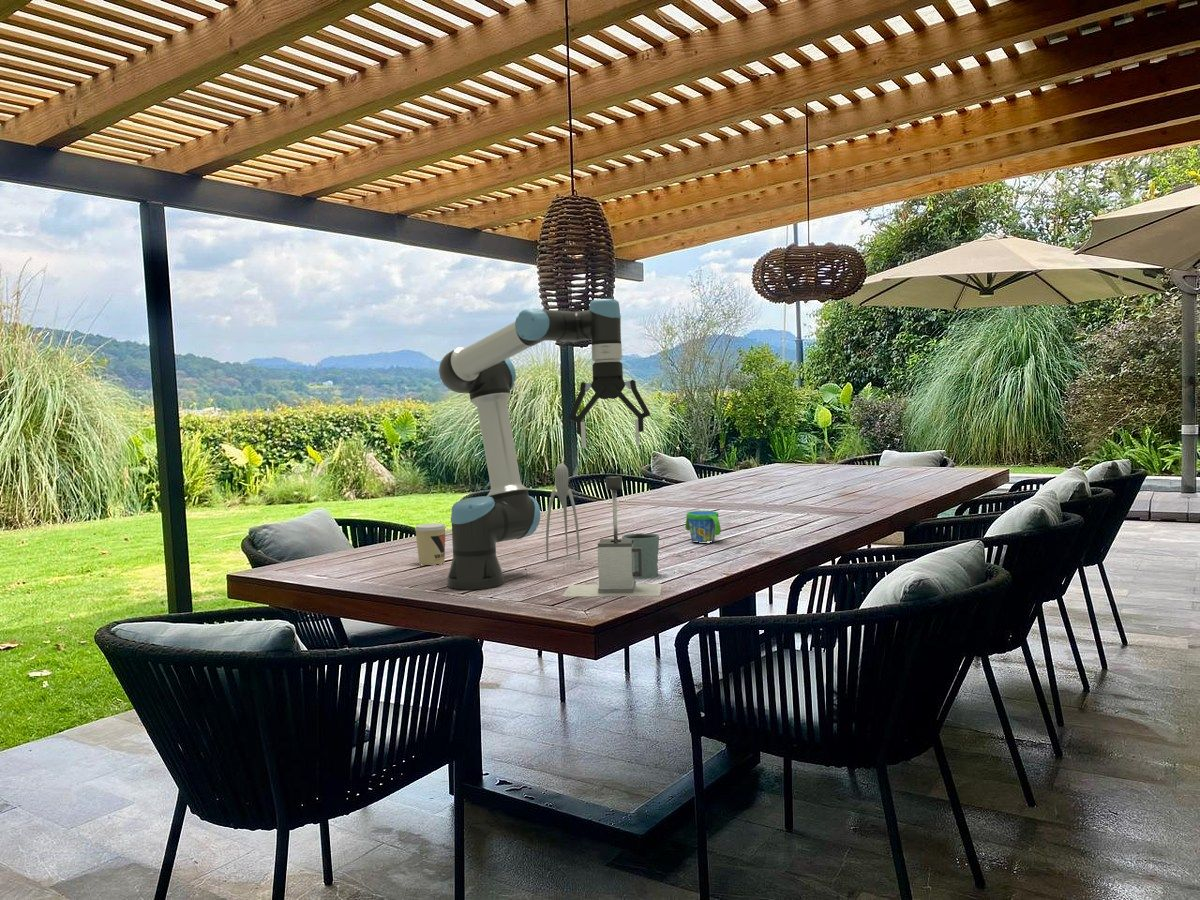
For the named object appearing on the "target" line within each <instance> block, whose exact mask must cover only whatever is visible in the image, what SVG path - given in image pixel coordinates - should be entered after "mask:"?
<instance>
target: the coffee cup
mask: <svg viewBox="0 0 1200 900" xmlns="http://www.w3.org/2000/svg"><path fill="white" fill-rule="evenodd" d="M446 528H447V526H446V524H444V523H439V522H438V523H437V522H436V523H433V522H432V523H431V522H430V523H422V524H418V525H416V526H415V528H414V530H415V538H416V546H417V547H416V548H417V557H418V563H419V565H420V564H422V565H435V564H441V563H444V564H445V559H446ZM422 565H421V566H422ZM441 565H442V564H441ZM435 566H436V565H435Z"/></svg>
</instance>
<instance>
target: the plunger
mask: <svg viewBox="0 0 1200 900" xmlns="http://www.w3.org/2000/svg"><path fill="white" fill-rule="evenodd" d="M605 489H606V490H608V491H611V492H612V519H613V520H612V521H613V523H612V525H613V527H612V528H613V539H614V542H618V539H619V537H618V532H619V531H618V510H617V509H618V506H617V505H618V503H617V501H618V500H617V490H623V477H622V476H619V475H617V476H606V477H605Z"/></svg>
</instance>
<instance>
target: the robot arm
mask: <svg viewBox="0 0 1200 900" xmlns="http://www.w3.org/2000/svg"><path fill="white" fill-rule="evenodd" d="M620 308H621V307H620V302H619V300H617V299H615V298H599V299H598V298H597V299H593V300H591V301H590V303H589V308H588V310H581V311H572V310H571V311H570V310H553V309H551V310H550V309H541V308H526V309H522V310H521V311H520V312H519V313H518V316H516V318H515V321H514V322H512V323H510V324H508V325H506V326H504V327H502V328H500V329H498V330H497V331H495V332H493V333H491V334H489V335H487V336H485V337H483V338H481V339H480V340H478V341H476V342H474V343H472V344H470V345H468V346H466V347H465V346H460V347H459V346H458V347H457V348H455V349H453V350H451V351H449V352H448V353H446V355H444V357H443V358H442V359H441V361H440V364H439V367H438V374H439V378H440V381H441V382H442V383H443V385H444V386H445V387H446V388H447V389H449V390H450V391H452V392H454V393H458V394H469V399H470V400H469V401H470V404H471V403H472V404H473V405H474V406H476V407H475V408H477V415H478V420H479V426H480V433H481V436H482V444H483V449H484V455H485V461H486V465H487V472H488V477H489V479H488V480H489V483H490V491H488V494H487V495H483V496H475V497H469V498H468V497H467V498H465V499H460V500H458V501H456V502H455V503H454V504H453V505H452V506H451V512H450V513H451V516H450V522H451V535H452V536H451V537H452V538H451V540H452V541H451V542H452V560H451V564H450V567H449V571H448V575H447V587H448V588H450V589H453V588H454V590H465V591H466V590H482V589H483V590H485V589H489V588H495V587H499V586H501V585H503V584H504V573H503V570H502V568H501V565H500V562H499V560H498V557H497V546H496V543H500V542H506V541H513V540H520V539H523V538H526V537H529V536H531V535H533V534H534V533H535V532H536V530H537V528H538V527H539V525H540V521H541V508H540V504H539V503H538V501H536V499H535V498H534V497H533V496H530V495H529V489H528V488H527V487H526V486H524V485H523V484H522V481H521V477H520V471H519V464H518V456H517V452H516V447H515V442H514V441H515V440H514V435H513V430H512V423H511V418H510V414H509V407H508V400H509V399H510V397H511V396H512V393H511V390H513V388H514V386H515V382H516V380H517V374H516V369H515V366H514V364H513V362H512V361H511V359H510V358H511V357H513V356H516V355H517V354H519V353H522V352H523V351H525V350H527V349H529V348H531V347H533V346H535V345H538V344H539V343H542V342H545V341H552V342H553V341H554V342H555V341H556V342H557V341H558V342H562V343H568V344H569V343H573V344H574V343H576V342H583V341H589V340H590V341H591V344H590V345H591V360H592V361H593V363H592V364H591V365H592V382H585V381H582V382H580V386H579V388H580V389H579V391H578V392H579V393H578V395H577V397H576V399H575V402H574V404H573V406H572V409H571V411H570V414H569V415H568V419H569V420H571V421H575V424H576V434H577V435H579V436H581V437H580V438H581V439H580V440H581V449H585V448H586V447H587V438H586V437H587V436H586V435H587V434H586V421H583V419H584V418H585V417H586V415H588V413H589V411H590V410H591V409H592V408H593V406H594V405H595V404H596V403H597V401H599V399H601V400H607V399H609V400H610V399H611V400H613V399H614V400H615V399H617V398H619V399H620V400H621V401H622V402H623V404H624V405H626V407H627V408H628V409H629V410H630V411H631V413H633V414H634V415H635V416H636V418H637V419H634V427H635V428H634V429H635V446H636V447H637V446H638V447H640V445H641V441H640V433H643V432H644V419H645V418H647V417H649V416H650V415H651V412H650V410H649V409H648V406H647V404H646V403H645V401H644V399H643V397H642V395H641V394H640V392H639V390H638V388H637V383H636V380H635V379H631V380H628V381H627V380H626V381H625V380H624V374H623V373H624V372H623V370H624V369H623V363H622V362H621V361H622V360H623V353H622V352H623V348H622V347H623V346H622V345H623V344H622V335H621V334H622V332H621V331H622V329H621V328H622V327H621V326H622V323H621V322H622V320H621V318H622V316H621V309H620ZM625 387H627V389H628V390H631V392H632V394H633V397H634V398H635V399H636V401H637V403H638V405H639V407H640V409H641V411H642V413H641V411H639V410H638V409H637V407H635V405H634V404H633V403H632V402H631V401H630V400H629V399H628V398H627V397H626V395H625V394H624V393H623V390H624V388H625ZM590 388H591V389H592V390H593V391H594V394H593V396H592V397H591V398H590V399H589V401H588V402H587V403H586V405H585V406H584V408H582V410H581V411H580V413H579V414H578V412H579V409H580V407H581V405H582V402H583V400H584V398H585V395H586V392H589V390H590ZM577 414H578V415H577Z"/></svg>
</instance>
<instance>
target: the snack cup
mask: <svg viewBox="0 0 1200 900" xmlns="http://www.w3.org/2000/svg"><path fill="white" fill-rule="evenodd" d="M719 515H720V514H719V512H717V511H712V510H695V511H688V512H686V516H685V517H686V519H685V520H686V521H685V530H686V531H689V532H690V537H691V542H692V541H698V542H707V541H713V540H714V541H715V537H716V536H719V535H720V534H721V533H722V532H721V530H722V529H721V528H722V527H721V524H720V520H719Z"/></svg>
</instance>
